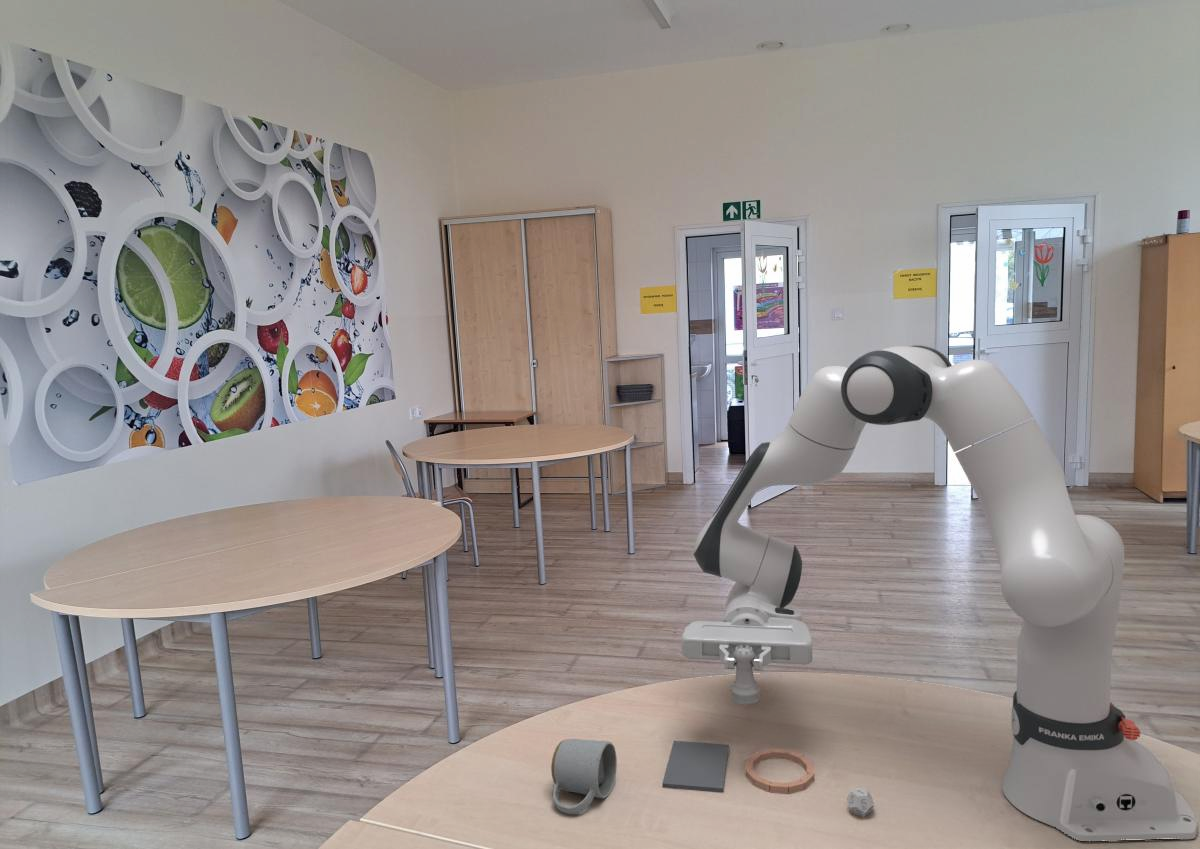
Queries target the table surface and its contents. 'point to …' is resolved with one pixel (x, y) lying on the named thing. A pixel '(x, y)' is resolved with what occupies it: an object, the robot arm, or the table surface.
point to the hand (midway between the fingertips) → (743, 665)
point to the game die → (860, 801)
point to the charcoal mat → (697, 766)
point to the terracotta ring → (778, 786)
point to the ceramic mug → (583, 771)
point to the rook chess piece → (744, 677)
